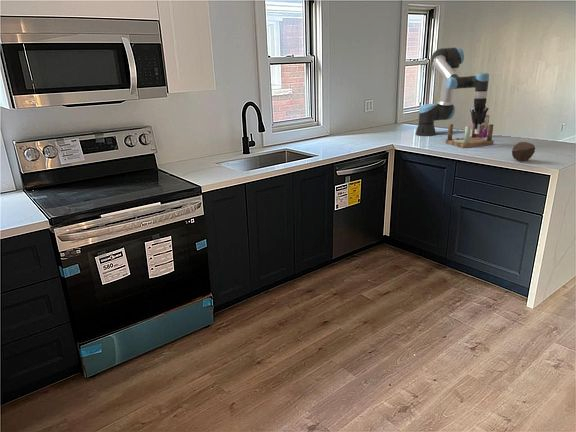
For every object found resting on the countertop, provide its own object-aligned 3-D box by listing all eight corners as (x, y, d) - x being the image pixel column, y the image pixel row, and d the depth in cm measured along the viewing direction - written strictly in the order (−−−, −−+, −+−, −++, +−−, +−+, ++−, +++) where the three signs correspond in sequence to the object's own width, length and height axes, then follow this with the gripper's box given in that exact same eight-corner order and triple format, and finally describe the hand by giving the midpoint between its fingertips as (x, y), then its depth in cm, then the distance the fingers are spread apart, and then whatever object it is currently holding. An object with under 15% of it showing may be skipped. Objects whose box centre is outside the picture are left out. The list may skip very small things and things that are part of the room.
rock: (514, 155, 238) (507, 142, 244) (512, 166, 247) (505, 154, 252) (537, 149, 236) (530, 136, 242) (534, 160, 244) (527, 148, 250)
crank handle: (453, 141, 292) (454, 125, 288) (456, 140, 294) (457, 125, 290) (466, 143, 283) (468, 127, 280) (469, 143, 285) (471, 126, 281)
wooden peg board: (445, 143, 302) (446, 124, 297) (474, 139, 307) (476, 121, 302) (462, 148, 283) (464, 128, 279) (493, 144, 289) (495, 124, 284)
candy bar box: (471, 138, 313) (473, 115, 308) (469, 136, 318) (471, 114, 312) (487, 137, 312) (489, 115, 306) (485, 136, 317) (487, 114, 311)
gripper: (485, 96, 281) (481, 131, 290) (468, 98, 278) (464, 133, 287) (492, 97, 274) (488, 133, 283) (475, 99, 272) (472, 135, 280)
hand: (476, 133), depth 285 cm, fingers closed
